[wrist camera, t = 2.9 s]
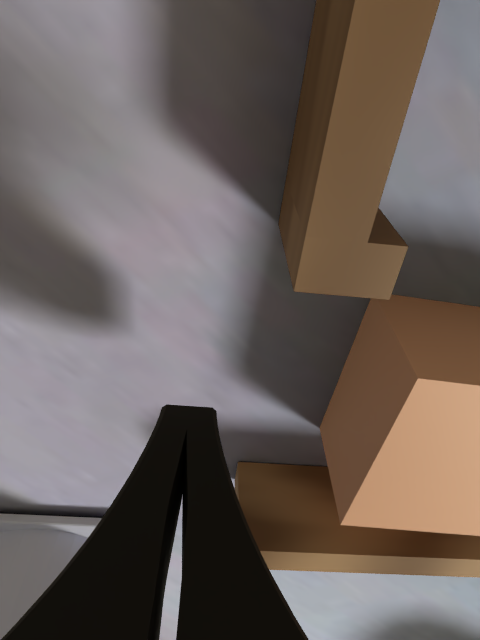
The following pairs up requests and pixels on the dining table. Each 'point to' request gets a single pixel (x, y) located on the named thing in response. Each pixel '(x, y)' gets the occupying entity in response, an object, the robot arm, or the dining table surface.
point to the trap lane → (346, 269)
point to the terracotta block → (408, 419)
